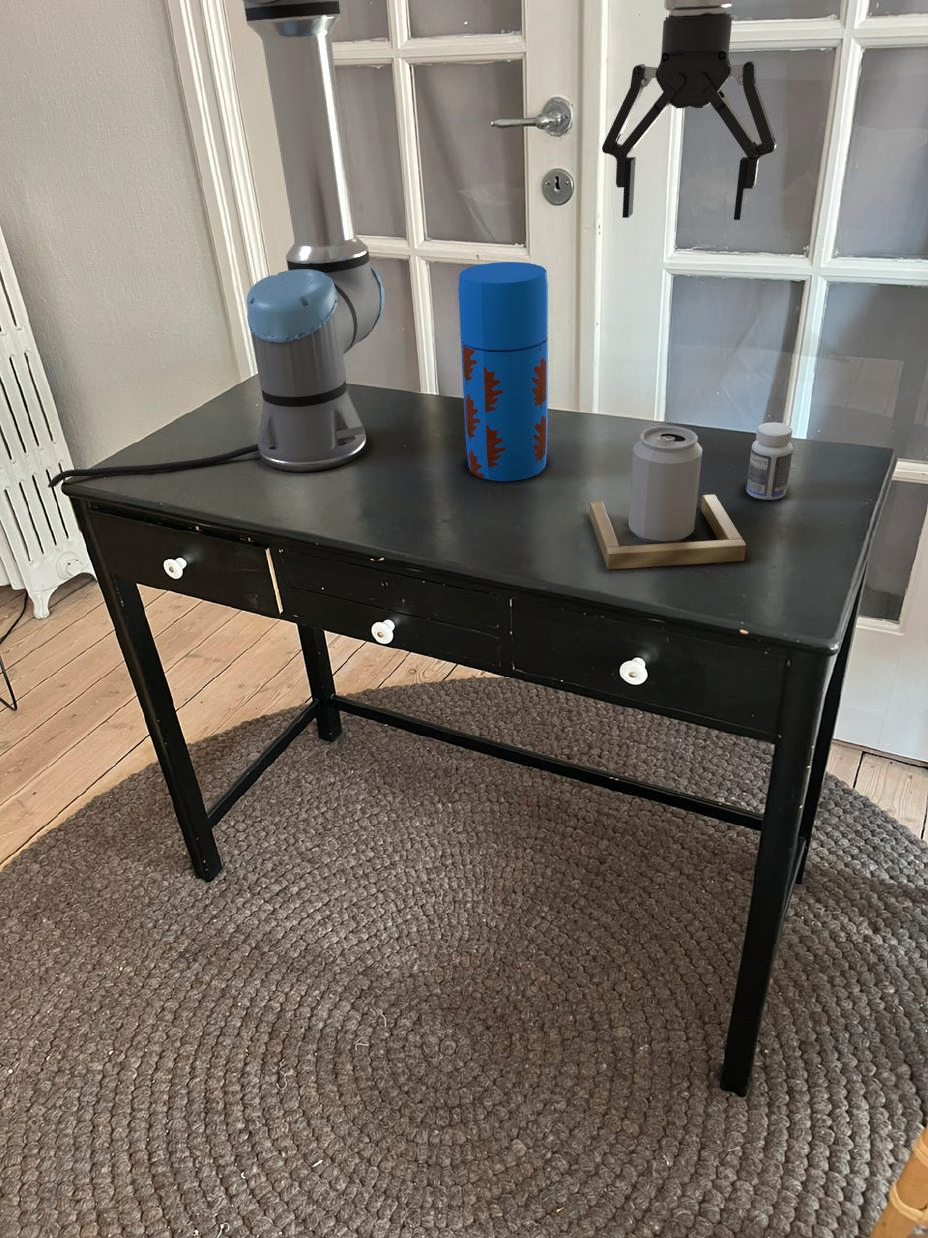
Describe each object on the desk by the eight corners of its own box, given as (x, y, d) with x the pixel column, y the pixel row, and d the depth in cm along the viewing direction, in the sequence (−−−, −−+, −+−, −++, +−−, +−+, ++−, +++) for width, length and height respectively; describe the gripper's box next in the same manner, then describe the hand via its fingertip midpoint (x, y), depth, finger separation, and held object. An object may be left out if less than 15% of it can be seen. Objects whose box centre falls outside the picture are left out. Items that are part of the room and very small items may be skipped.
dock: (607, 569, 100) (608, 553, 99) (589, 516, 110) (589, 501, 109) (744, 561, 100) (746, 545, 99) (713, 509, 111) (714, 494, 110)
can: (706, 528, 107) (716, 431, 100) (672, 554, 102) (681, 454, 95) (650, 511, 111) (657, 416, 104) (615, 535, 106) (620, 437, 100)
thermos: (528, 443, 130) (526, 257, 116) (560, 472, 121) (563, 275, 107) (456, 457, 127) (445, 268, 113) (483, 487, 118) (476, 288, 104)
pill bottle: (781, 484, 115) (791, 420, 111) (789, 501, 111) (799, 435, 107) (743, 484, 116) (751, 420, 111) (748, 500, 112) (757, 436, 107)
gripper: (580, 18, 103) (576, 220, 115) (814, 7, 96) (784, 224, 107) (596, 16, 109) (590, 209, 121) (817, 5, 101) (789, 212, 113)
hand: (681, 216), depth 114 cm, fingers open, 13 cm apart
